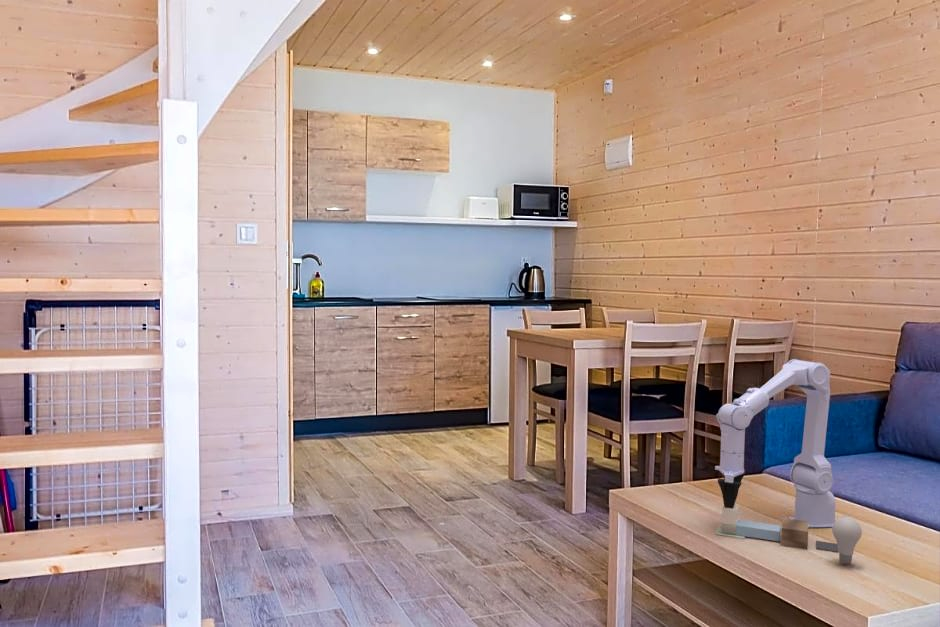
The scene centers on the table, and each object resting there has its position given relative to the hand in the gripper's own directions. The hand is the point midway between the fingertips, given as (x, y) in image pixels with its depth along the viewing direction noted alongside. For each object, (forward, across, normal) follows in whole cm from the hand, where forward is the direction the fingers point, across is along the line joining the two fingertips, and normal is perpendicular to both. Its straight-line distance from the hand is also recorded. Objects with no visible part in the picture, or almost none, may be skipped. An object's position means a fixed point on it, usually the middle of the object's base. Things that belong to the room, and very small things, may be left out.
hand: (730, 503), depth 196 cm
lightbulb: (+8, +11, +26) cm, 30 cm away
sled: (+7, 0, +5) cm, 9 cm away
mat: (+7, 0, 0) cm, 7 cm away
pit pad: (+8, 0, +23) cm, 25 cm away
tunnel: (+8, 0, +15) cm, 17 cm away
